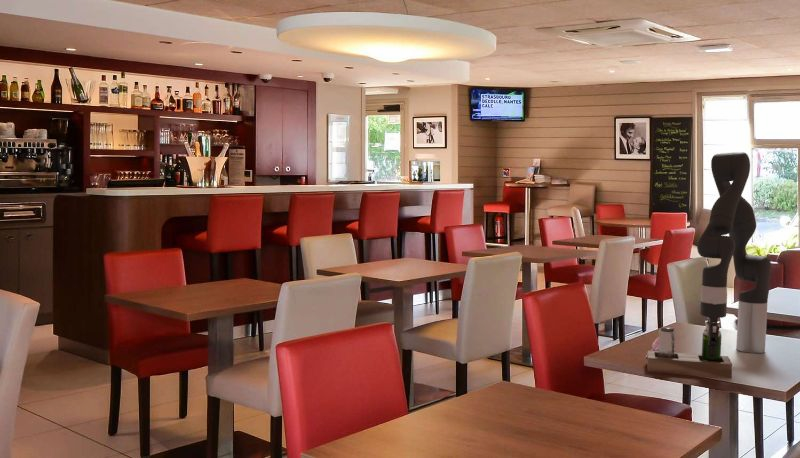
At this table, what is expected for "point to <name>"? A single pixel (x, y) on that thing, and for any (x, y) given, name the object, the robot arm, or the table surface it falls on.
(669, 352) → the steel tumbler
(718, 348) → the beer can
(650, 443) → the table surface
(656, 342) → the lily
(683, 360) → the caddy
